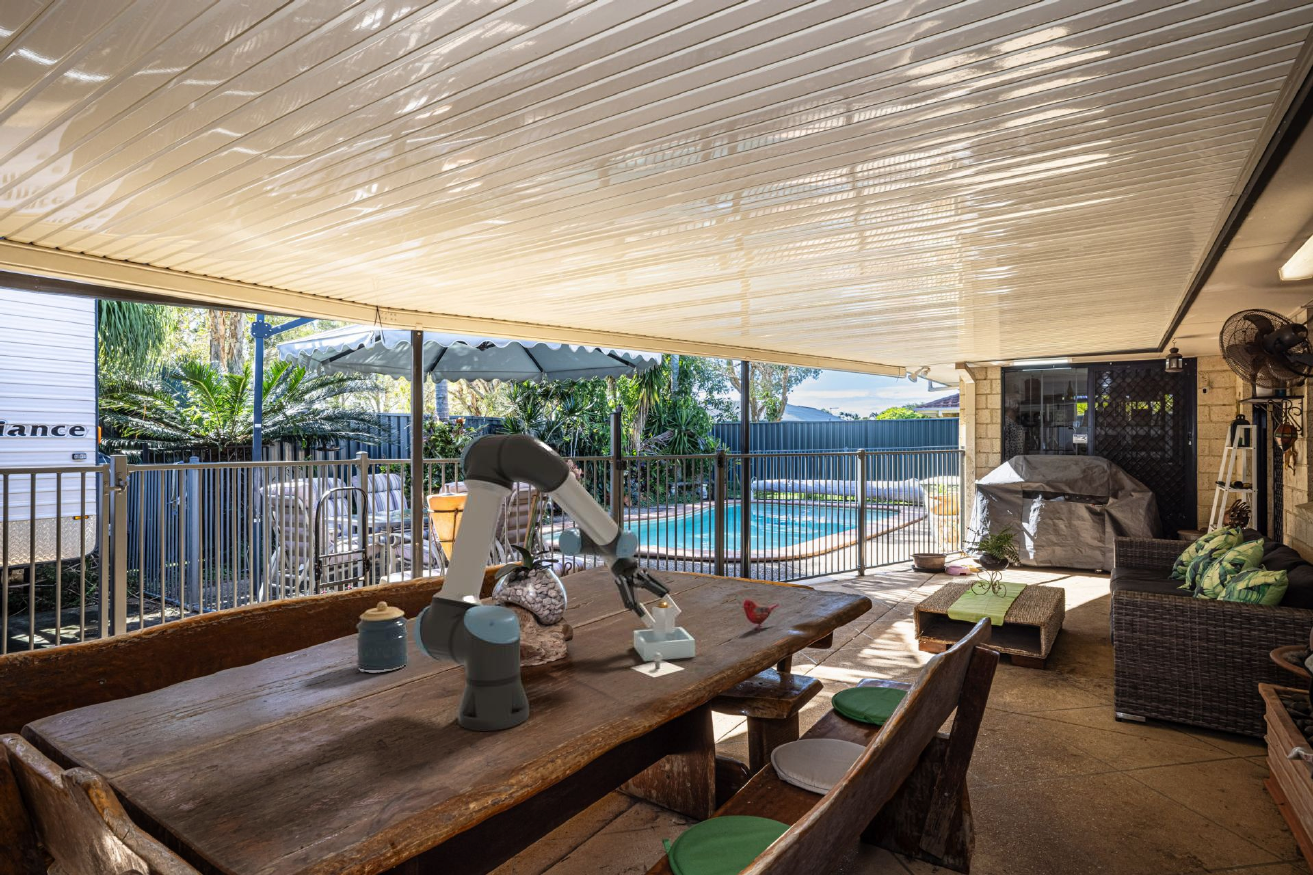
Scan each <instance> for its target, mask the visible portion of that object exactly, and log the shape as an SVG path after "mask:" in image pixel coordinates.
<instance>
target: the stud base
mask: <svg viewBox="0 0 1313 875" xmlns="http://www.w3.org/2000/svg"><path fill="white" fill-rule="evenodd" d="M661 658H662V656H661V654H660V653H655V654H654V655H653V659H654V660H653V661H652V662H647V663H645V664H644V663H643V664H639V665H636V666H632V667H630V669H632V670H634V671H636V672H640V673H642V674H644V675H647V676H648V677H649V676H650V677H652V678H658V677H661V676H664V675H669V674H672V673H675V672H680V671H683V670H685V668H684V667H682V666H678V665H676V664H673V663H669V662H668V661H665V660H661Z"/></svg>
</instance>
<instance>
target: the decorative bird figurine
mask: <svg viewBox="0 0 1313 875" xmlns="http://www.w3.org/2000/svg"><path fill="white" fill-rule="evenodd" d="M778 606H779V603H776V604H774V605H772V606H769V607H768V606H765V605H761V604H756V602H754V600H751V599H745V600H744V602H743V606H742V609H743V610H744V612H745V616H746V618H747V620H748V621H749V622H750V623H752V624H754V625H757V626H755V627H754V628H752V630H758V629H760V628H761V627H762V628H763V625H762V623H764V622H765V621H766V620H767V619H768V618H769V617H770V614H771V613H772V611H773V610H774V609H775V608H777V607H778Z"/></svg>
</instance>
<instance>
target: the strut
mask: <svg viewBox="0 0 1313 875" xmlns="http://www.w3.org/2000/svg"><path fill="white" fill-rule="evenodd" d="M651 616H652V618H653V619H654V620H655V623H654V624H653V625H652V629H653V642H662V641H674V640H675V628H676V618H675V606H673V605H669V603H668V602H662V601H660V602H657V605H654V606H652V608H651Z"/></svg>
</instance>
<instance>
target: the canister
mask: <svg viewBox="0 0 1313 875" xmlns="http://www.w3.org/2000/svg"><path fill="white" fill-rule="evenodd" d="M404 615H405V611H404V610H401V609H400V608H399V607H395V606H388V604H387V602H385V601H379V602H378V603H377V605H376V607H375V608H370V609H367V610H366V611H364V613H362V614H361V615H359V619H360V621H359V622H358V623H357V624H356V626H355V627H356V629H357V630H358V635H357V637H356V641H357V644H356V645H357V646H356V647H357V660H356V662H357V664H356V666H357V668H358V667H359V668H360V669H364V670H384V669H393V668H396V667H400V666H402V665H404V664H406V662H407V663H408V660H409V653H408V635H409V633H408V631H407V629H406V628H407V626H406V625H407V624H408V622H409V621H408V619H407V618H405V617H404Z"/></svg>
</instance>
